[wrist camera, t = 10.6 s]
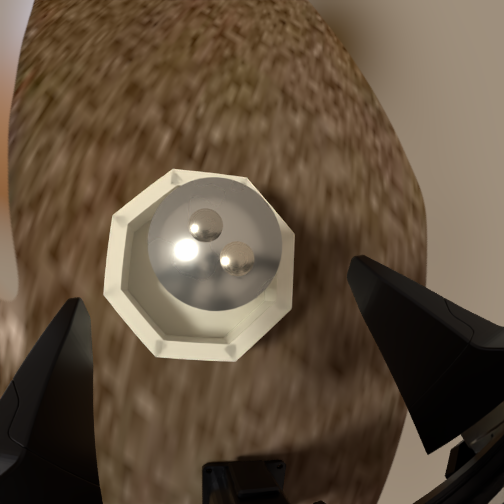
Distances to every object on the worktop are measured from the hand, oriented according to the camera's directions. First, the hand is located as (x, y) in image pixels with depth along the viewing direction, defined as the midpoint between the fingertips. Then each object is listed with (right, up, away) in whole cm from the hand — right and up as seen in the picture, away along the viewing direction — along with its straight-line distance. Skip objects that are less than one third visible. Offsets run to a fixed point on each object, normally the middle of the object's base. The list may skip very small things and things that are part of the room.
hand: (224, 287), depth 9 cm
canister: (-3, 0, +10) cm, 10 cm away
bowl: (-3, 0, +11) cm, 11 cm away
